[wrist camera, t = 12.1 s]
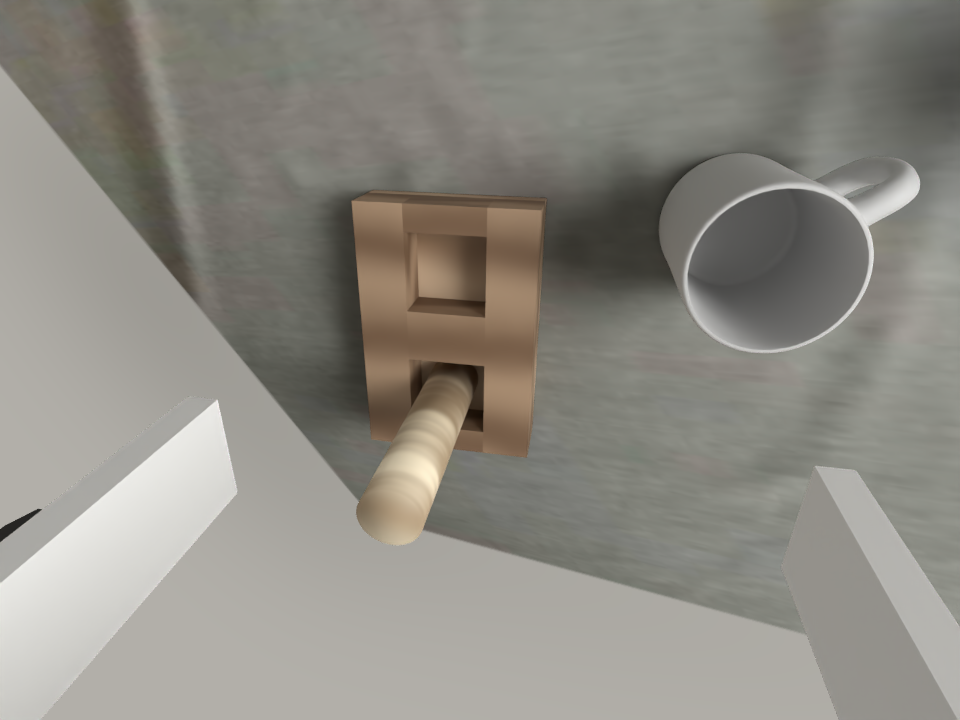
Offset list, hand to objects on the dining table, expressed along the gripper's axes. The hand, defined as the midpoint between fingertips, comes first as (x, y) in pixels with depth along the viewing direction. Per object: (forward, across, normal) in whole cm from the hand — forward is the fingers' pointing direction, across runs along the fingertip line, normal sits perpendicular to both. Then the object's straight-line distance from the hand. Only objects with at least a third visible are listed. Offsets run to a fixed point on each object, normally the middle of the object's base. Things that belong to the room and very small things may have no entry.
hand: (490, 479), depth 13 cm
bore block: (+29, -7, -8) cm, 31 cm away
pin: (+28, -7, -12) cm, 31 cm away
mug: (+29, +12, +1) cm, 31 cm away
